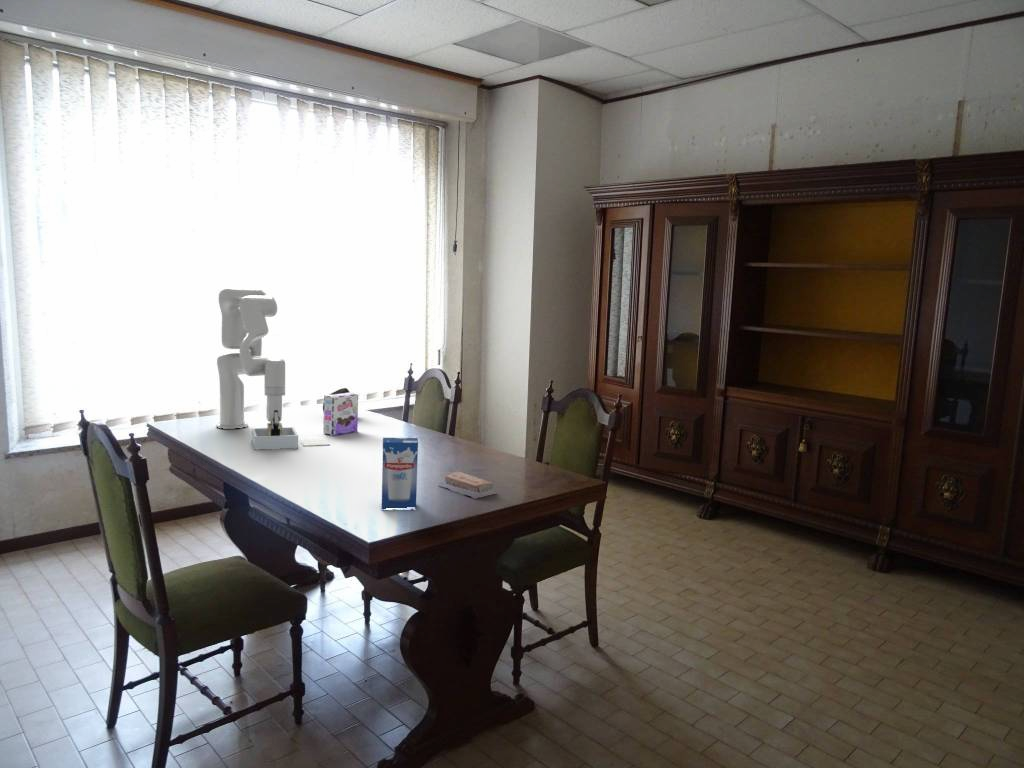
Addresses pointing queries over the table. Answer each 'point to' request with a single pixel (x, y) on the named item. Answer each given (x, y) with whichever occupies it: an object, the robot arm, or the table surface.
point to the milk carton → (399, 472)
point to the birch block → (269, 427)
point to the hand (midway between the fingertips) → (274, 437)
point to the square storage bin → (274, 439)
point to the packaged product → (468, 482)
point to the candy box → (340, 413)
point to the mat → (314, 442)
